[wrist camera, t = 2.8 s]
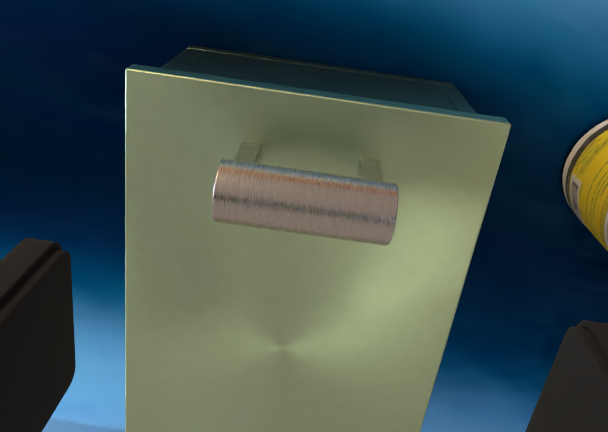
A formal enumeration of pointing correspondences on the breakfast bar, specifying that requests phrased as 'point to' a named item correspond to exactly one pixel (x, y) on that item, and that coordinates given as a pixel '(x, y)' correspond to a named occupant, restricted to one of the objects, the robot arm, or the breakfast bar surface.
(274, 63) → the bin
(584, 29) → the breakfast bar surface
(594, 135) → the pill bottle
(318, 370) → the bin lid
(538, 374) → the breakfast bar surface
